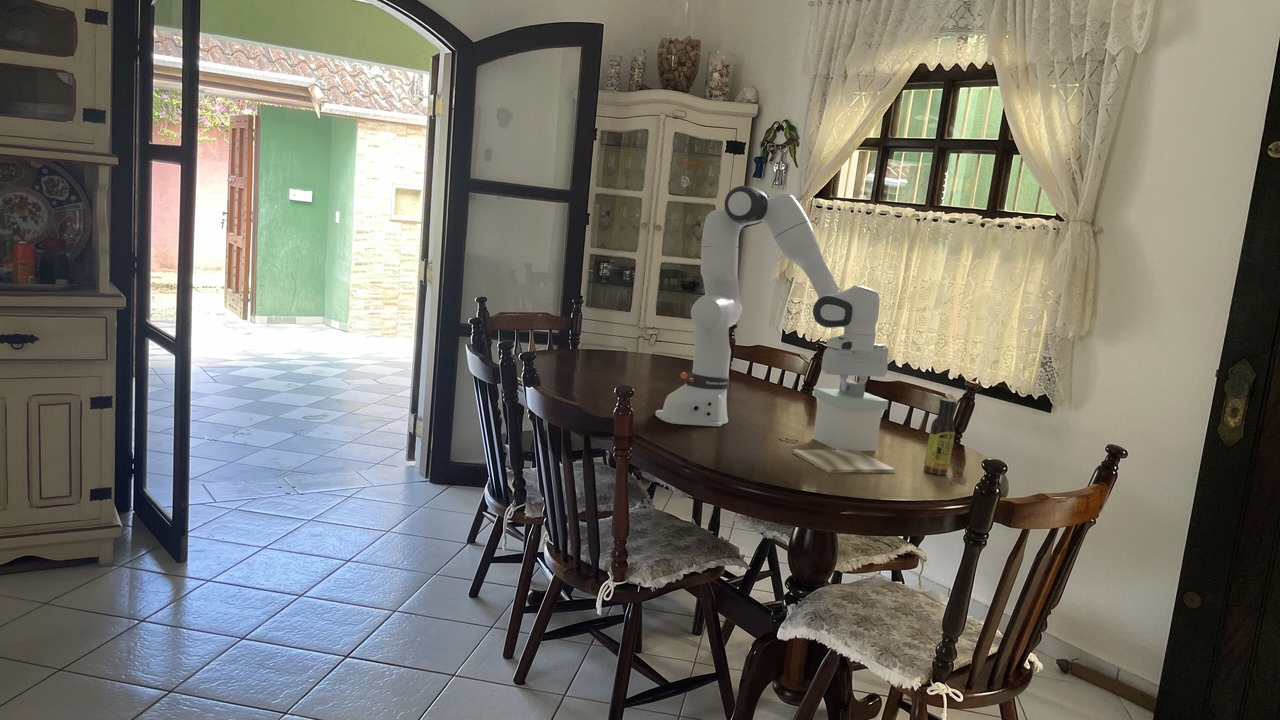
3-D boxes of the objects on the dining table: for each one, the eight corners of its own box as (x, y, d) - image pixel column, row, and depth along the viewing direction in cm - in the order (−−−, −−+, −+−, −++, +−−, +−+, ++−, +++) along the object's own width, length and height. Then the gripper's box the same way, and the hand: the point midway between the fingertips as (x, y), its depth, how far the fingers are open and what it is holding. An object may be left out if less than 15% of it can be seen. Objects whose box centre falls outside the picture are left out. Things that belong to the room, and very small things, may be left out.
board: (828, 473, 214) (828, 469, 214) (793, 453, 231) (793, 449, 231) (894, 472, 221) (895, 469, 221) (855, 453, 238) (856, 450, 238)
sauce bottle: (934, 476, 221) (946, 402, 218) (917, 469, 227) (929, 397, 224) (953, 476, 224) (965, 402, 221) (936, 468, 230) (948, 397, 226)
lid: (841, 408, 235) (844, 387, 234) (813, 396, 249) (816, 376, 248) (887, 409, 240) (890, 388, 239) (857, 397, 254) (860, 378, 253)
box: (836, 450, 238) (843, 402, 236) (812, 438, 250) (819, 392, 248) (875, 451, 243) (883, 403, 241) (850, 439, 255) (857, 393, 253)
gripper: (882, 343, 249) (875, 389, 251) (821, 339, 242) (815, 387, 244) (895, 346, 243) (888, 394, 245) (833, 343, 236) (827, 392, 238)
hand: (851, 390), depth 244 cm, fingers closed on lid, 3 cm apart
